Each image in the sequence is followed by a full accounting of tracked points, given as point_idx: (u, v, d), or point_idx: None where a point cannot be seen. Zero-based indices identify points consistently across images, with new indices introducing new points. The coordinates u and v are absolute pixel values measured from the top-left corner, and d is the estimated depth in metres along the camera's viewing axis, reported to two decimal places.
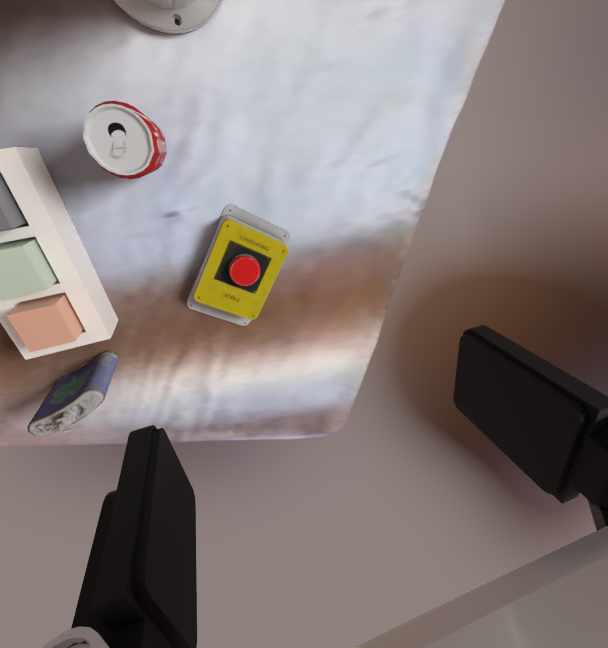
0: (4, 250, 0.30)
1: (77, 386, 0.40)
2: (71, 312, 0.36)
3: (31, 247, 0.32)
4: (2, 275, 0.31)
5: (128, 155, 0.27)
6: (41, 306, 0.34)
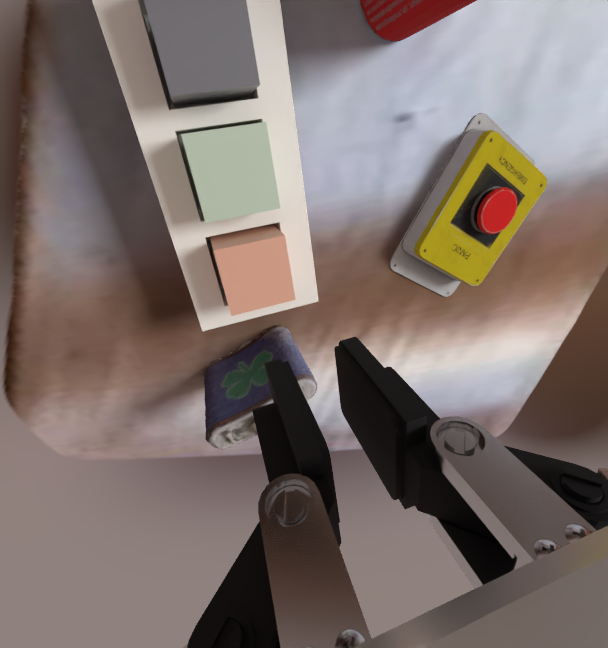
0: (238, 127, 0.17)
1: (261, 373, 0.27)
2: None
3: None
4: (224, 175, 0.18)
5: None
6: (260, 238, 0.21)
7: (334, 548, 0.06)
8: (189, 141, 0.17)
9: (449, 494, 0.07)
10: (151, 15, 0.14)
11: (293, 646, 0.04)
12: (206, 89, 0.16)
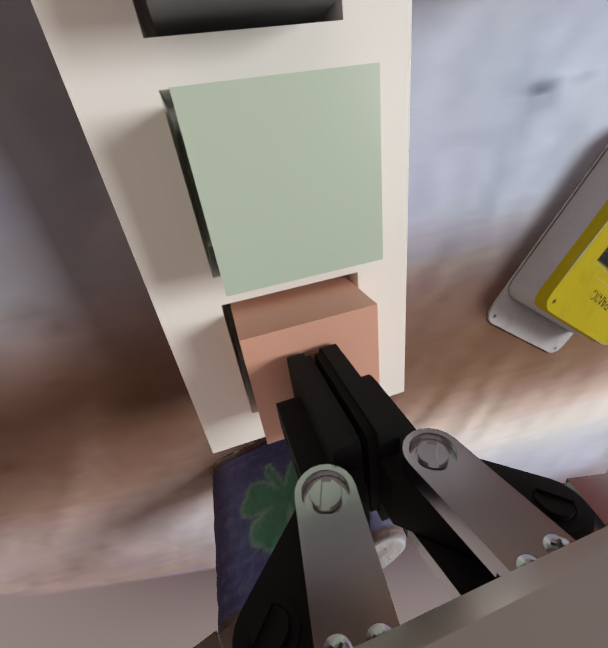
0: (313, 75, 0.07)
1: None
2: None
3: None
4: (274, 193, 0.08)
5: None
6: (328, 308, 0.11)
7: (368, 542, 0.06)
8: (190, 107, 0.07)
9: (426, 510, 0.07)
10: None
11: (324, 630, 0.05)
12: None
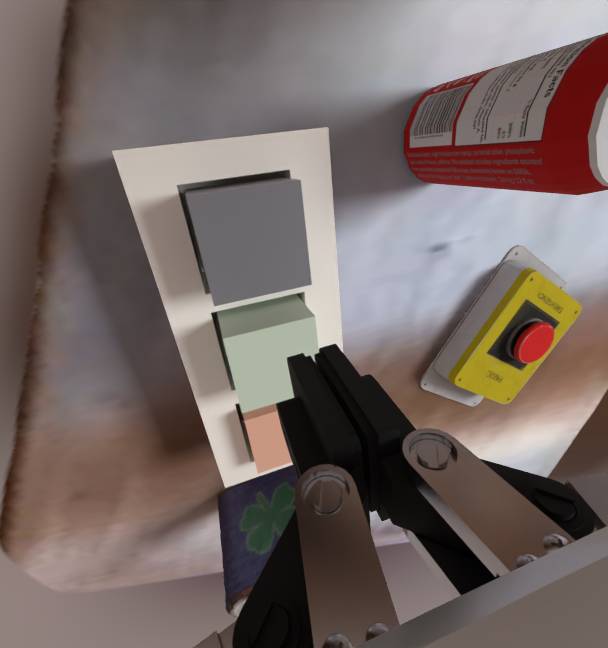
0: (284, 325, 0.16)
1: (284, 518, 0.25)
2: None
3: None
4: (266, 369, 0.16)
5: None
6: None
7: (368, 542, 0.06)
8: (231, 343, 0.15)
9: (426, 510, 0.07)
10: (200, 237, 0.13)
11: (324, 630, 0.05)
12: (253, 296, 0.14)
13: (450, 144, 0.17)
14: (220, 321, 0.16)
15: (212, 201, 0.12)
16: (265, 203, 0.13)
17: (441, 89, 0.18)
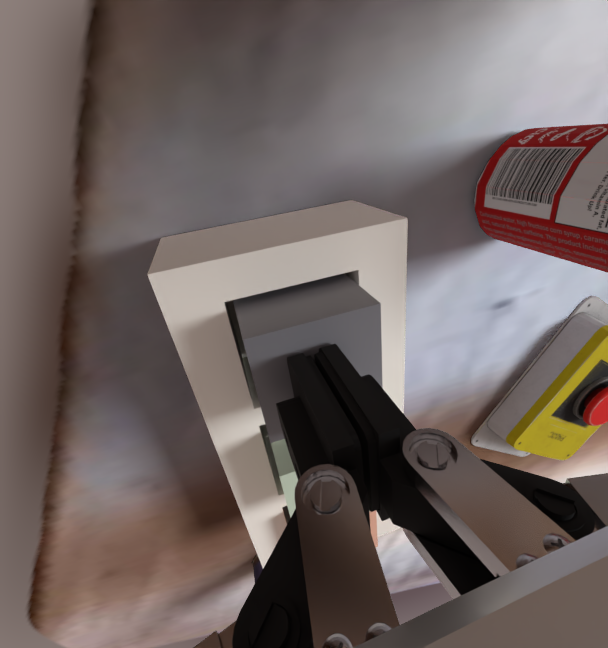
0: None
1: None
2: None
3: None
4: None
5: None
6: None
7: (368, 542, 0.06)
8: (288, 479, 0.13)
9: (426, 510, 0.07)
10: (258, 378, 0.10)
11: (324, 630, 0.05)
12: None
13: (547, 218, 0.14)
14: None
15: (274, 341, 0.10)
16: (337, 333, 0.10)
17: (531, 143, 0.15)
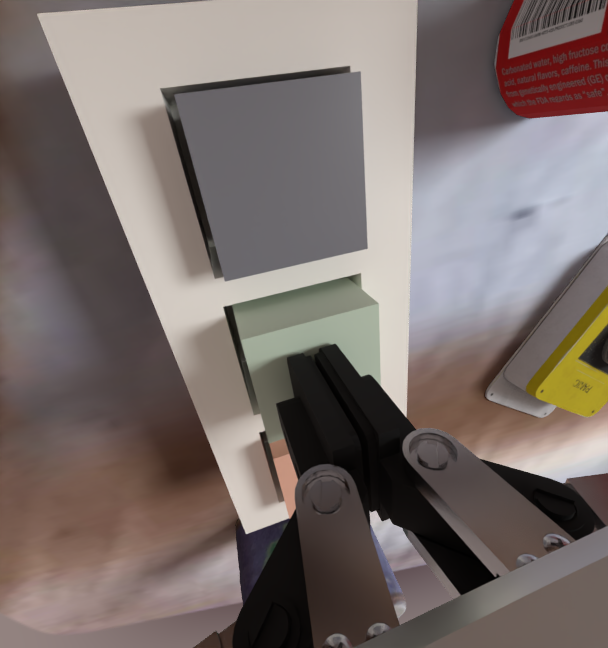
0: (333, 317, 0.10)
1: None
2: None
3: None
4: None
5: None
6: None
7: (368, 542, 0.06)
8: (253, 347, 0.10)
9: (426, 510, 0.07)
10: (201, 168, 0.08)
11: (324, 630, 0.05)
12: (283, 265, 0.10)
13: (598, 31, 0.11)
14: (236, 312, 0.11)
15: (218, 105, 0.08)
16: (304, 112, 0.08)
17: None
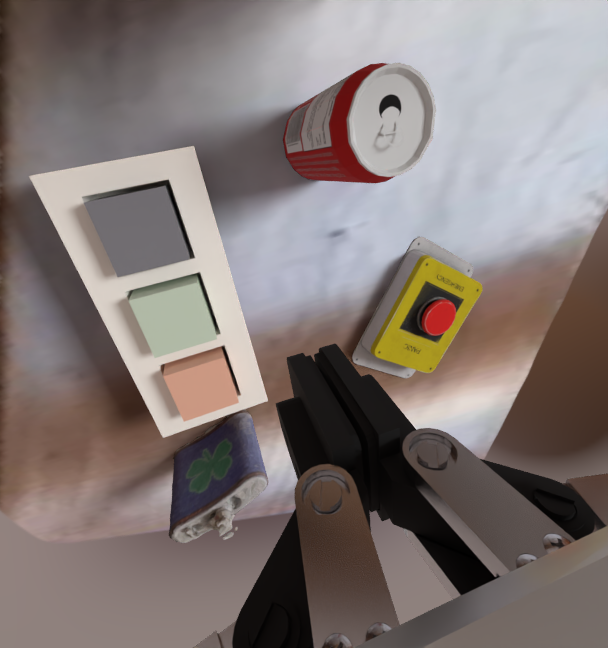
0: (174, 289, 0.22)
1: (220, 465, 0.30)
2: (227, 363, 0.28)
3: (199, 283, 0.23)
4: (167, 323, 0.22)
5: (395, 146, 0.17)
6: (203, 360, 0.25)
7: (369, 542, 0.06)
8: (135, 304, 0.21)
9: (426, 510, 0.07)
10: (98, 229, 0.19)
11: (324, 630, 0.05)
12: (146, 268, 0.21)
13: (302, 150, 0.22)
14: (133, 291, 0.23)
15: (102, 205, 0.19)
16: (141, 203, 0.19)
17: (300, 106, 0.24)
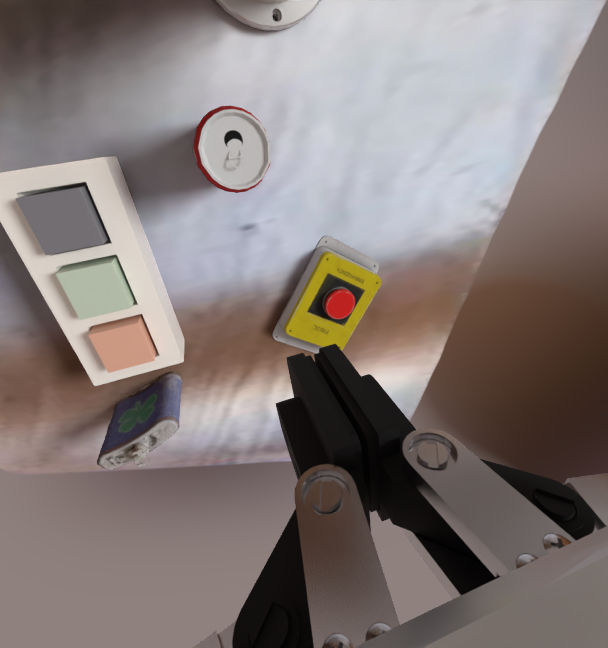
0: (93, 267, 0.28)
1: (145, 413, 0.37)
2: (148, 329, 0.34)
3: (116, 263, 0.30)
4: (88, 293, 0.29)
5: (242, 167, 0.24)
6: (122, 324, 0.32)
7: (368, 542, 0.06)
8: (61, 277, 0.28)
9: (426, 510, 0.07)
10: (28, 218, 0.25)
11: (324, 631, 0.05)
12: (68, 250, 0.27)
13: None
14: (63, 267, 0.29)
15: (30, 200, 0.25)
16: (61, 200, 0.26)
17: None
